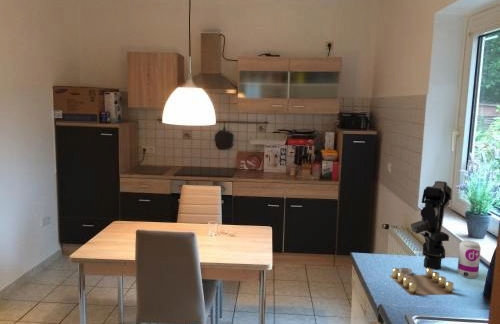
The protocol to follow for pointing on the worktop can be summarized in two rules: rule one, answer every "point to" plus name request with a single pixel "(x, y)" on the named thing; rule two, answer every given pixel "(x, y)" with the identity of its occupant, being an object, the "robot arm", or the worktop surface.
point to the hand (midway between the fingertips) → (429, 251)
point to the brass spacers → (429, 275)
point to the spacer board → (424, 286)
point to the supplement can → (469, 259)
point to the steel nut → (405, 271)
